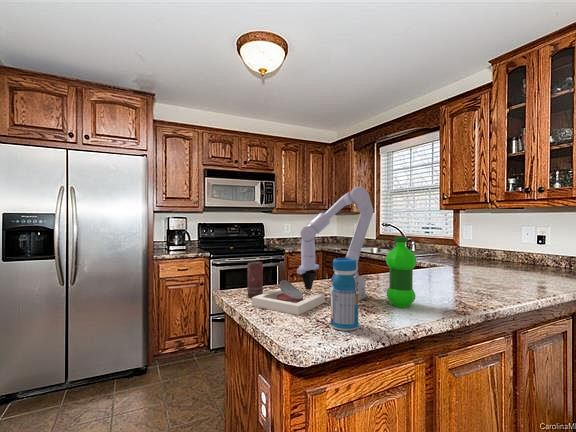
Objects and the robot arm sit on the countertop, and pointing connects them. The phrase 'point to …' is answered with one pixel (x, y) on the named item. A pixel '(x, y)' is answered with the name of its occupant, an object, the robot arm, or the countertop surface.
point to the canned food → (289, 292)
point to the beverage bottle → (344, 295)
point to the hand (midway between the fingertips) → (308, 289)
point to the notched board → (298, 308)
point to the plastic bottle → (401, 274)
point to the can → (255, 278)
